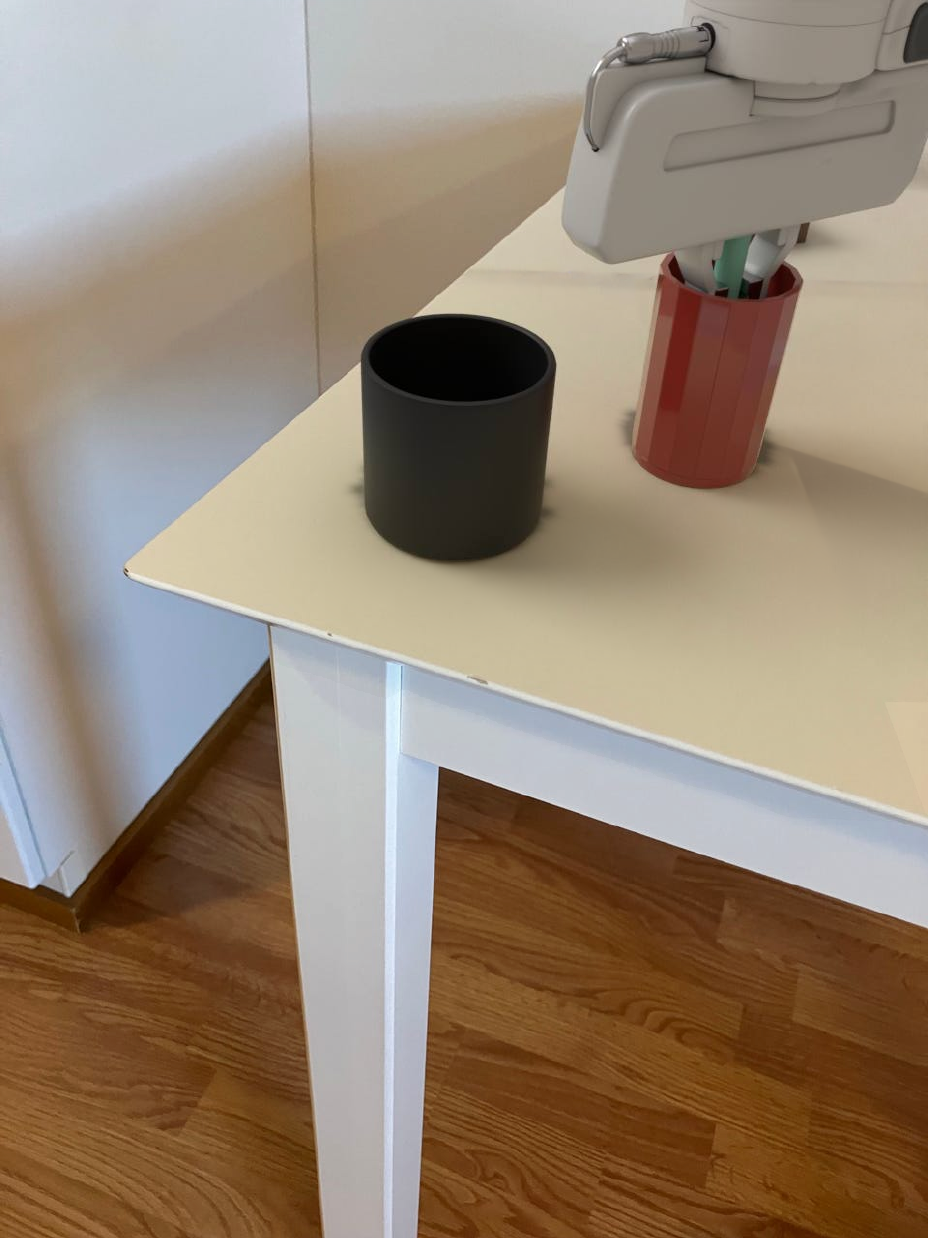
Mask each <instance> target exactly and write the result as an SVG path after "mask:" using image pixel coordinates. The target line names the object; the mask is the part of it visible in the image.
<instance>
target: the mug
mask: <svg viewBox="0 0 928 1238" xmlns="http://www.w3.org/2000/svg"><path fill="white" fill-rule="evenodd" d="M556 375H557V360H556V356H555V353H554V352H553V349H552V347H551V346H550V345H549V344H548V343H547V342H546V341H545V340H544V339H543V338H542V337H540V336H539V335H538V334H536V333H535V332H533V331H531V330H530V329H528V328H525V327H524V326H521V325H519V324H516V323H514V322H510V321H507V320H504V319H501V318H495V317H491V316H485V315H479V314H471V313H433V314H426V315H419V316H414V317H410V318H409V317H408V318H405V319H401V320H399V321H396V322H394V323H391V324H388V325H386V326H384V327H383V328H381V329H380V330H378V331H377V332H375V333H374V334H373V335H372V336H370V337H369V338H368V340H367V341H366V342H365V344H364V346H363V348H362V351H361V353H360V382H361V383H360V385H361V386H360V387H361V388H360V389H361V392H360V393H361V420H362V421H361V422H362V423H361V424H362V425H361V426H362V454H363V455H362V457H363V459H362V460H363V488H364V491H363V492H364V510H365V513H366V516H367V519H368V520H369V522H370V524H371V526H372V527H373V528H374V530H375V531H376V532H377V533H378V535H379V536H380V537H382V538H383V539H384V540H385V541H387V542H388V543H390V544H391V545H393V546H395V547H396V548H398V549H401V550H402V551H405V552H407V553H410V554H413V555H416V556H420V557H423V558H429V559H435V560H442V561H474V560H480V559H485V558H489V557H494V556H497V555H501V554H503V553H505V552H507V551H510V550H511V549H514V548H516V547H517V546H519V545H520V544H521V543H523V542H524V541H525V540H526V539H527V538H529V536H530V535H531V534H532V533H533V532H534V530H535V529H536V527H537V525H538V524H539V521H540V519H541V516H542V510H543V500H544V491H545V481H546V480H545V479H546V471H547V462H548V461H547V460H548V452H549V442H550V433H551V422H552V413H553V405H554V395H555V394H554V393H555V384H556Z"/></svg>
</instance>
